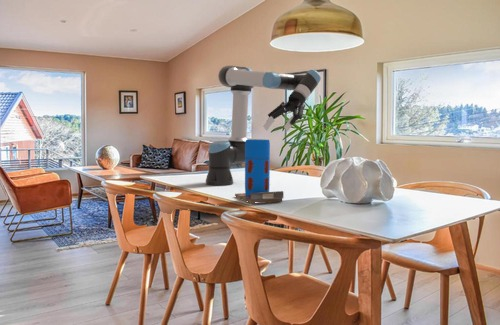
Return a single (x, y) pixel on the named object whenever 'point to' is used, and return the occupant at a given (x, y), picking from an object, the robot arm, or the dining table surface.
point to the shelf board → (262, 197)
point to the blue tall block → (257, 166)
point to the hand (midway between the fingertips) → (275, 128)
